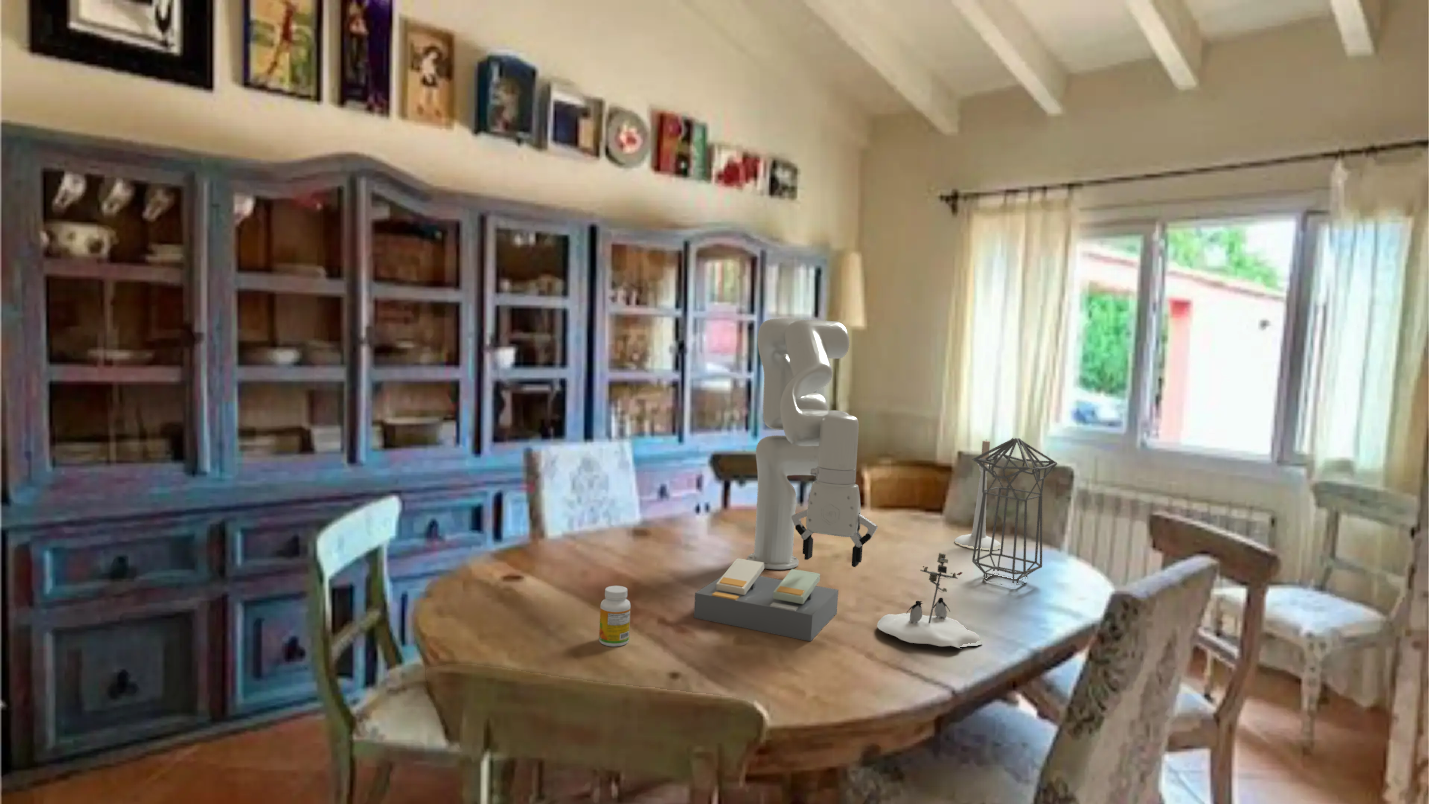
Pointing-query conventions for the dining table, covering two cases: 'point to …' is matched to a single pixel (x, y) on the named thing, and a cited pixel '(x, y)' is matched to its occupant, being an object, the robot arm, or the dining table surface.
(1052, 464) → the geometric lantern
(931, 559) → the dining table surface
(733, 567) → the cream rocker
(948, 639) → the figurine
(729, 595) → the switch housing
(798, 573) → the sage rocker
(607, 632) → the supplement bottle
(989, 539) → the candlestick
